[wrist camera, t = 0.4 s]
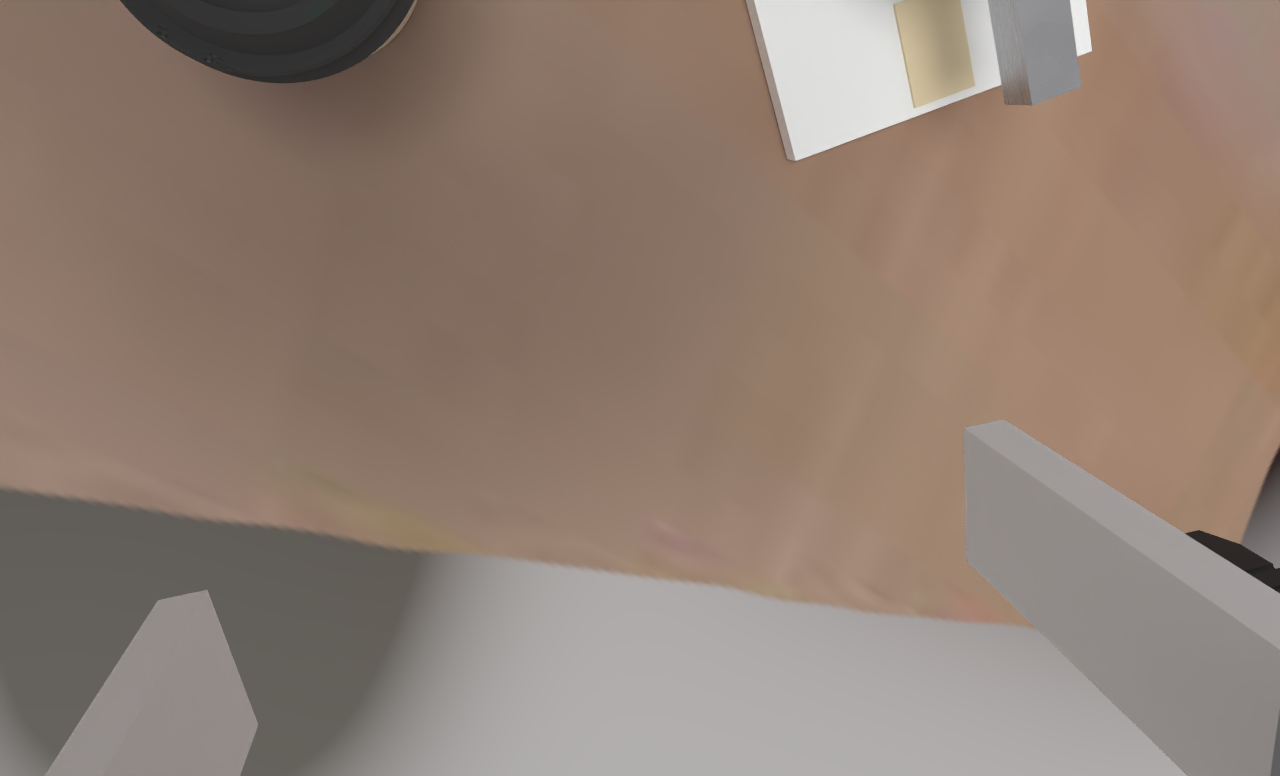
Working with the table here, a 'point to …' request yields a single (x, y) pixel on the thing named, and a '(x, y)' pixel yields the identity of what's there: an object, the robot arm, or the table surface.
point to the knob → (1034, 49)
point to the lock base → (874, 62)
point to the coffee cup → (275, 33)
